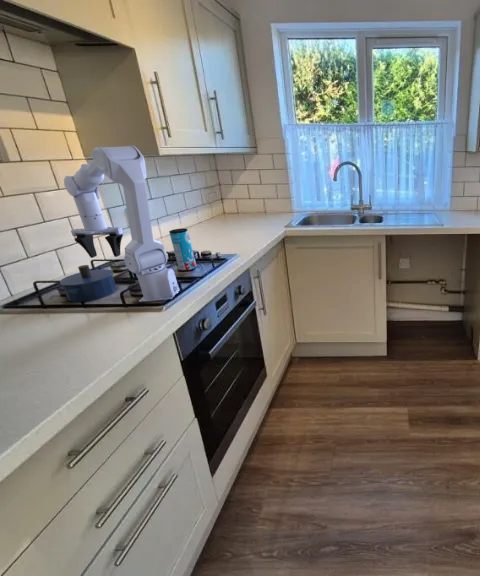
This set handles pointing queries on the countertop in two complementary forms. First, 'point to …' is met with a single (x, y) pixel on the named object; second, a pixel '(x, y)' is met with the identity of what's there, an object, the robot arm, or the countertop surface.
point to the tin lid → (86, 276)
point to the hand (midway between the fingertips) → (105, 256)
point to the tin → (91, 290)
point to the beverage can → (183, 249)
